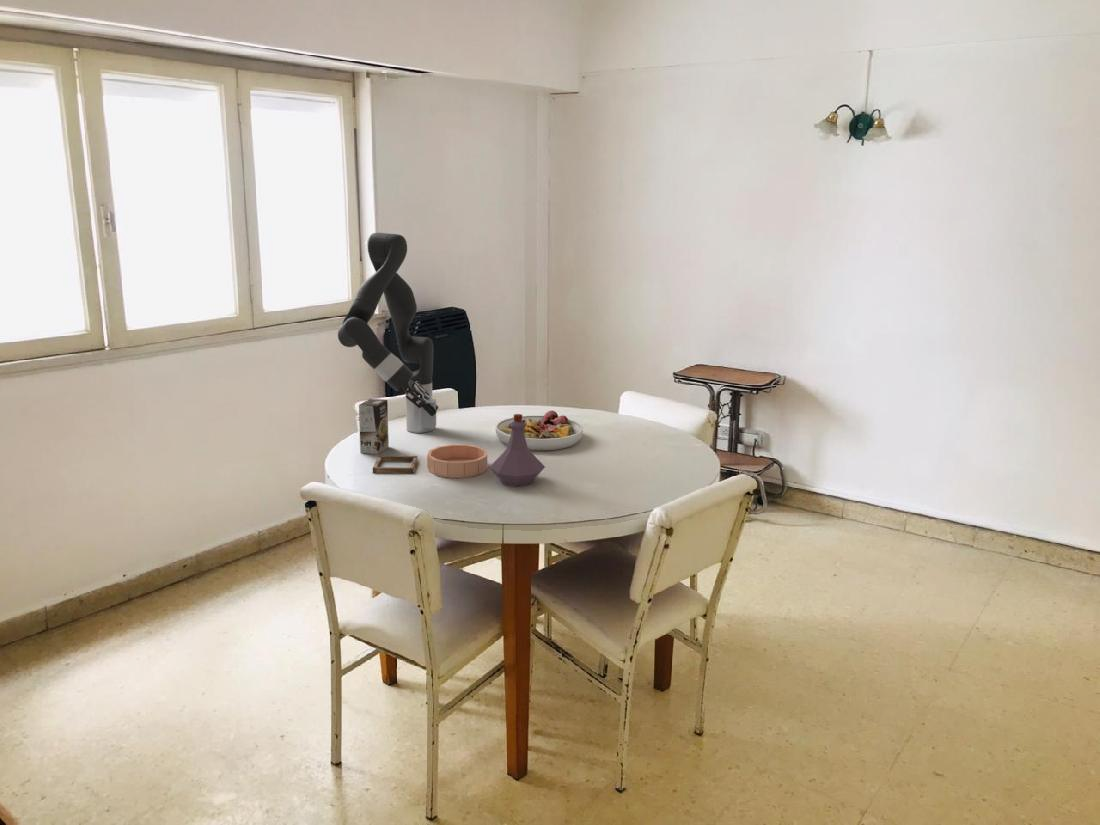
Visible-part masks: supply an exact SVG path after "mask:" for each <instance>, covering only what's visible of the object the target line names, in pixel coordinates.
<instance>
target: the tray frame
mask: <svg viewBox="0 0 1100 825" xmlns="http://www.w3.org/2000/svg"><path fill="white" fill-rule="evenodd" d="M418 459H419V458H418V455H378V457H377V459H376V461H375V462H374V465H373V467H372V474H414V472H415V470H416V468H417V467H416V466H417V464H418V461H419V460H418ZM382 462H395V463H396V462H399V463H400V462H403V463H404V462H408V463H409V462H411V464H410V466H409V467H406V466H405V467H401V466H400V467H399V466H398V467H397V466H396V467H395V466H393V467H392V466H391V467H387V466H382V467H381V466H380V465H381V464H382Z"/></svg>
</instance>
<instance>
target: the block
mask: <svg viewBox="0 0 1100 825" xmlns="http://www.w3.org/2000/svg"><path fill="white" fill-rule="evenodd" d="M426 400H427V401H428V403H429V404H430V405H431V406H432V407H433V408H435V409H436V405H437V399H435V398H432V399H426ZM436 426H437V413H436V414H435V415H433V416H431V415H430V414H429V413H428V412H427V411H425V410H424V409H423V408H421V428H433V429H436Z"/></svg>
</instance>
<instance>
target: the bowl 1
mask: <svg viewBox="0 0 1100 825" xmlns="http://www.w3.org/2000/svg"><path fill="white" fill-rule="evenodd" d="M488 452H489V451H488V450H486V449H484V448H483V447H481V446H477V445H472V444H454V443H453V444H447V445H446V444H445V445H440V446H436V447H434V448H432V449H430V450H428V452H427V455H426V456H427V458H426V459H427V470H428V472H429V473H431V474H432V475H434V476H438V477H442V478H446V479H447V478H448V479H449V478H451V479H465V478H473V477H476V476H479V475H482V474H484V473H486V472H487V471H488V463H489V462H488V457H489V456H488V454H489V453H488Z"/></svg>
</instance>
